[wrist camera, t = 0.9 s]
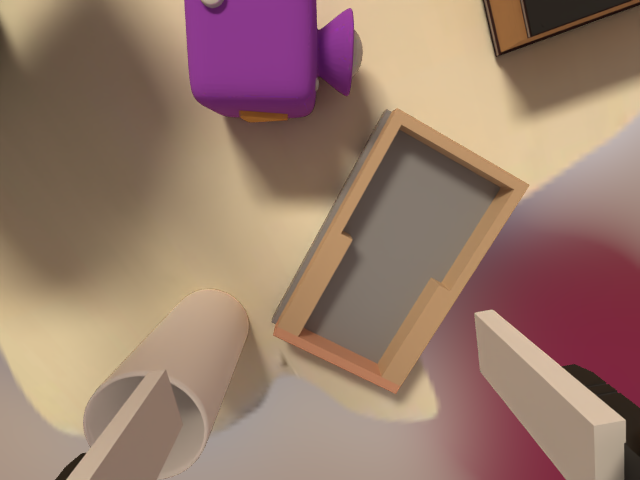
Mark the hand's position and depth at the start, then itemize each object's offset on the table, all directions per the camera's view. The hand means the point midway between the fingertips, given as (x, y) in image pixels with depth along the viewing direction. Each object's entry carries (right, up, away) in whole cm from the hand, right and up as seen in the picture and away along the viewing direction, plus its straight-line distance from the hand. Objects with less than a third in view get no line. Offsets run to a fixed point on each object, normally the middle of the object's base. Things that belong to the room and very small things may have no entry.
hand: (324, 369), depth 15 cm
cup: (-12, -4, +25) cm, 28 cm away
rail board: (+7, +4, +23) cm, 25 cm away
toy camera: (-4, +22, +20) cm, 30 cm away
